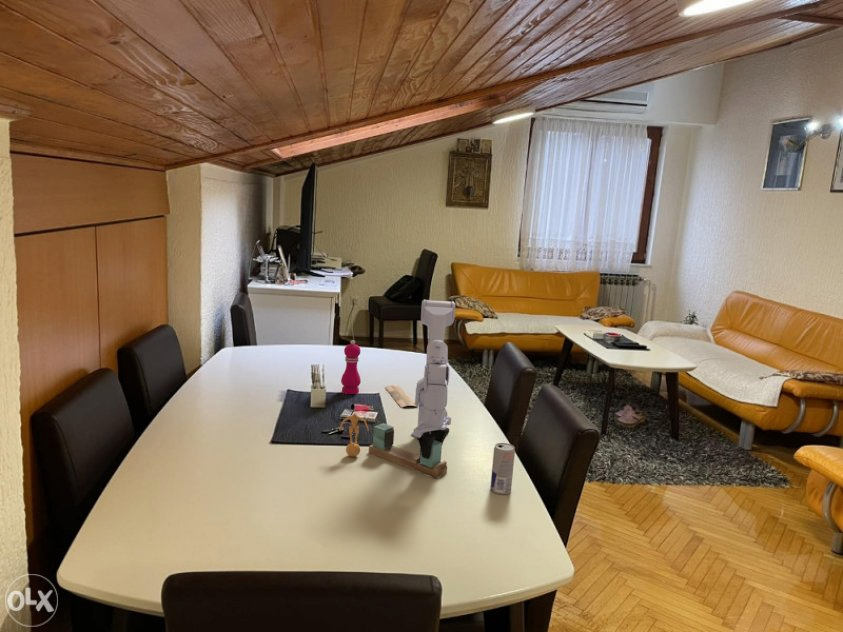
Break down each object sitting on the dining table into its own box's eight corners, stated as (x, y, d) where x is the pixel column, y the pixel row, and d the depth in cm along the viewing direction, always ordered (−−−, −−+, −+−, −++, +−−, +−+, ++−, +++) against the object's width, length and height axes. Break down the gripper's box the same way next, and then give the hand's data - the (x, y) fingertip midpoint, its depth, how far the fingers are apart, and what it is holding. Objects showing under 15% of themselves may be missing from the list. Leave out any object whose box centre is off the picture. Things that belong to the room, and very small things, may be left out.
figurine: (337, 458, 176) (339, 417, 174) (338, 450, 182) (340, 410, 180) (367, 459, 177) (369, 418, 175) (367, 450, 183) (369, 411, 181)
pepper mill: (358, 396, 232) (361, 343, 228) (339, 394, 232) (341, 341, 228) (361, 390, 239) (363, 338, 235) (342, 388, 239) (344, 337, 235)
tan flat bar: (417, 409, 223) (418, 405, 223) (398, 410, 221) (398, 405, 221) (399, 389, 245) (400, 385, 245) (382, 389, 243) (382, 385, 243)
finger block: (427, 458, 175) (428, 438, 174) (440, 463, 172) (442, 442, 171) (418, 462, 172) (419, 441, 170) (431, 467, 169) (433, 446, 168)
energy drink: (497, 483, 167) (501, 440, 165) (514, 490, 164) (519, 447, 162) (486, 490, 163) (490, 446, 161) (503, 497, 160) (508, 452, 158)
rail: (380, 447, 186) (381, 421, 184) (446, 472, 172) (448, 445, 170) (368, 452, 182) (370, 426, 180) (436, 478, 168) (438, 450, 166)
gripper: (430, 417, 161) (426, 467, 163) (461, 405, 172) (457, 452, 175) (408, 410, 165) (405, 459, 167) (440, 398, 176) (437, 444, 179)
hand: (430, 455), depth 171 cm, fingers closed on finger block, 4 cm apart
